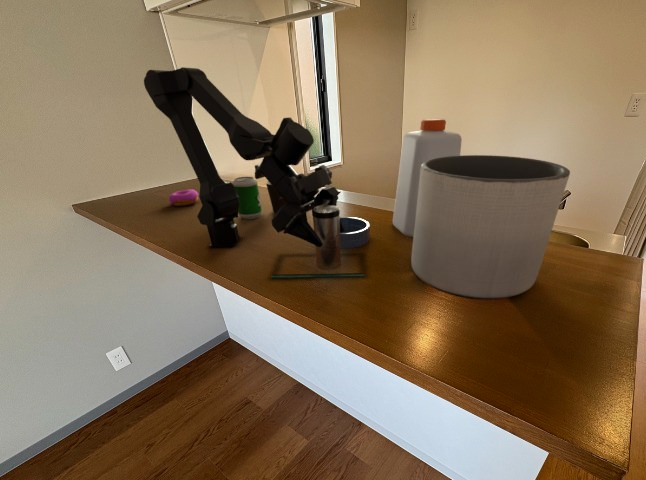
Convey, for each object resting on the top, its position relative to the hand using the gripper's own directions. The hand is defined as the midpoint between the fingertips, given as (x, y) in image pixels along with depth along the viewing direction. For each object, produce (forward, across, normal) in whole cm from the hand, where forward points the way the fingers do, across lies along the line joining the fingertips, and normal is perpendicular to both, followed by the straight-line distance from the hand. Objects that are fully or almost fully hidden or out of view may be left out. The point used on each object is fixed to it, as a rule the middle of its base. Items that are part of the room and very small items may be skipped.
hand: (332, 238), depth 69 cm
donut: (-50, +22, +60) cm, 81 cm away
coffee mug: (-21, +30, +31) cm, 48 cm away
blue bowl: (+1, +15, +9) cm, 18 cm away
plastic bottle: (+13, +33, -2) cm, 35 cm away
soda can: (-26, +21, +36) cm, 50 cm away
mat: (+3, -1, +8) cm, 8 cm away
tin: (+4, 0, +6) cm, 7 cm away
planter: (+25, +10, -15) cm, 31 cm away
